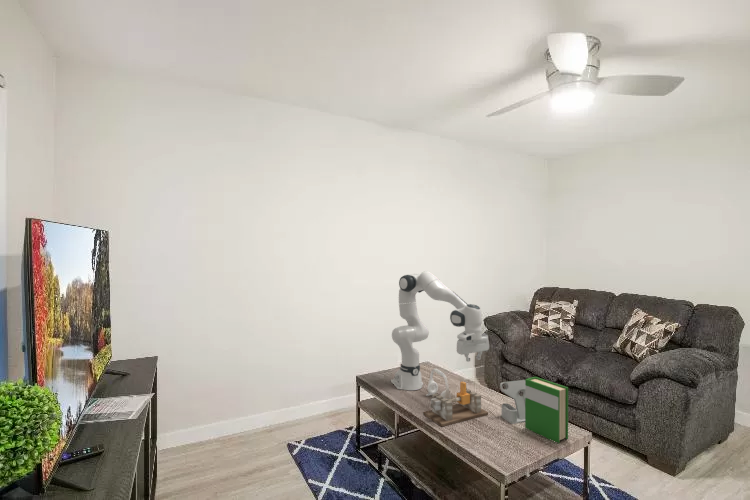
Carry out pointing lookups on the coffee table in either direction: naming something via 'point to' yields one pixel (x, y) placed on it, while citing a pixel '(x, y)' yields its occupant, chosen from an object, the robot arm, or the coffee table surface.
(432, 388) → the headset
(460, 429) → the coffee table surface
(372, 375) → the coffee table surface
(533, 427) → the hardback book
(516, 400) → the phone holder
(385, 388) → the coffee table surface
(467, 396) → the sleeve
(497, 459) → the coffee table surface
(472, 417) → the cord comb board
